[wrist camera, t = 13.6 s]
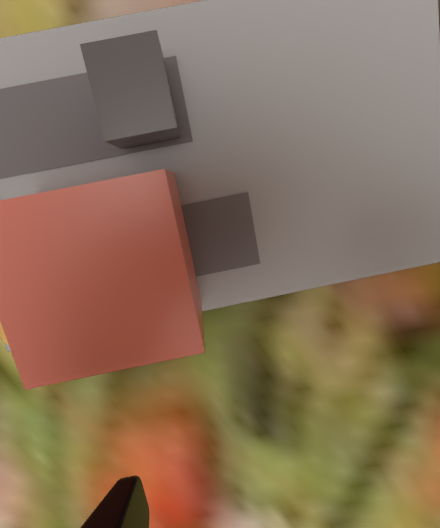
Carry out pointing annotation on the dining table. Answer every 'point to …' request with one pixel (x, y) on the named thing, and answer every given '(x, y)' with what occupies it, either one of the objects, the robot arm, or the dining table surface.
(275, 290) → the breaker panel
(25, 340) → the cap
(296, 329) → the dining table surface
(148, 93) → the block
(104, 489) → the dining table surface
